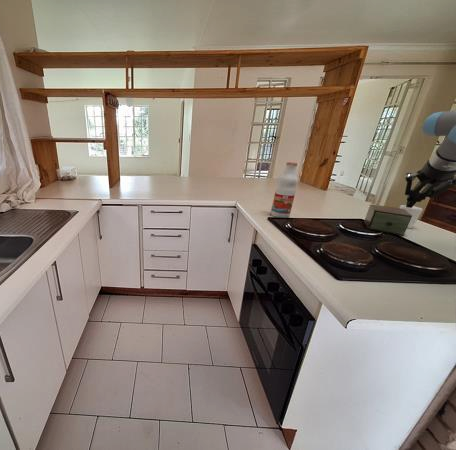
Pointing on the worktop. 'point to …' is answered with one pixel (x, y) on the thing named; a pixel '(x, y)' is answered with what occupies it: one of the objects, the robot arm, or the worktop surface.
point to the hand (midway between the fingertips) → (409, 204)
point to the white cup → (414, 212)
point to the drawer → (389, 222)
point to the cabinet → (387, 210)
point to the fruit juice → (285, 192)
